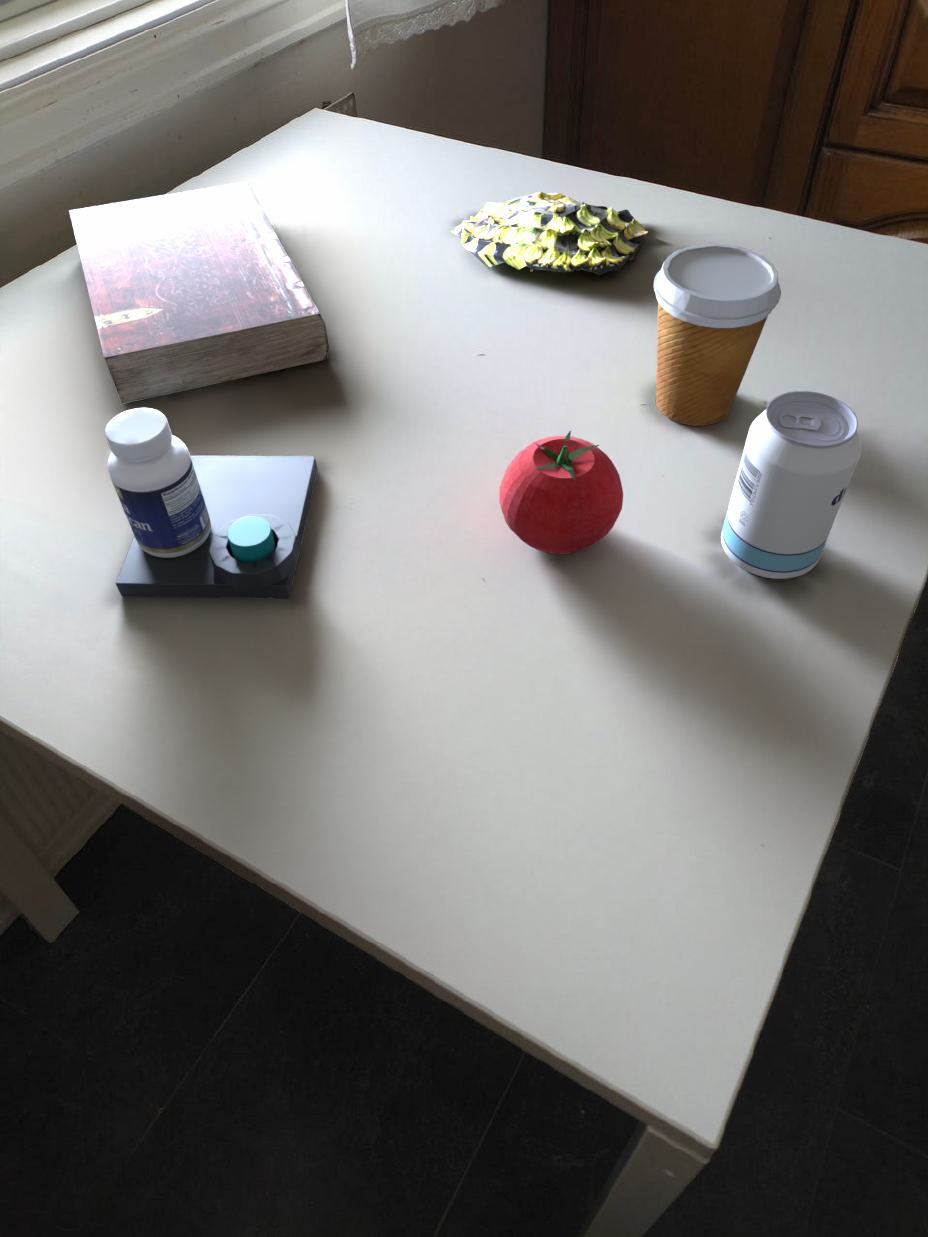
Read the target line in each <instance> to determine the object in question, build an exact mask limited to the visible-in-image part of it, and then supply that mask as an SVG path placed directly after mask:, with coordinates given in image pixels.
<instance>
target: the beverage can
mask: <svg viewBox="0 0 928 1237" xmlns="http://www.w3.org/2000/svg"><path fill="white" fill-rule="evenodd" d="M858 429H859V420H858V416H857V415H856V413H855V411H854V410H853V409H852V408H851V407H850V406H849V405H847V404H846V403H844V402H843V401H842V400H840V399H838V398H836V397H833V396H831V395H828V394H825V393H822V392H818V391H809V390H794V391H789V392H785V393H781V394H780V395H777V396H776V397H774V398H772V399H771V400H770V401H769V403H768V405H767V406H766V409H765V410H764V411H763V412H761V413H760V414H759V415H758V416H756V418H755V419H754V420H752V423H751V424H750V426H749V429H748V433H747V436H746V440H745V444H744V448H743V451H742V455H741V458H740V462H739V466H738V470H737V474H736V477H735V481H734V485H733V487H732V488H733V489H732V493H731V495H730V500H729V503H728V507H727V512H726V514H725V517H724V522H723V526H722V529H721V533H720V534H721V535H720V542H721V546H722V549H723V551H724V552H725V554H726V555H727V557H728V558H729V559H730V560H731V561H732V562H733V563H734V564H735V565H736V566H738V567H739V568H741V569H742V570H744V571H746V572H748V573H750V574H753V575H755V576H759V577H763V578H767V579H775V580H784V579H785V580H786V579H792V578H796V577H799V576H803V575H805V574H807V573H809V572H810V571H811V570H812V569H813V568H814V567H815V566H816V565H817V564H818V563H819V560H820V558H821V555H822V553H823V551H824V548H825V545H826V542H827V540H828V537H829V535H830V534H831V530H832V527H833V525H834V522H835V519H836V517H837V515H838V512H839V510H840V507H841V504H842V502H843V500H844V497H845V494H846V492H847V489H848V487H849V484H850V482H851V480H852V476H853V474H854V471H855V469H856V467H857V464H858V462H859V459H860V456H861V451H862V443H861V439H860V435H859V433H858Z"/></svg>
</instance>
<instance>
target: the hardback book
mask: <svg viewBox="0 0 928 1237" xmlns="http://www.w3.org/2000/svg"><path fill="white" fill-rule="evenodd" d="M68 212H69V217H70V220H71V224H72V225H71V226H72V228H73V233H74V237H75V241H76V246H77V250H78V254H79V258H80V262H81V266H82V271H83V275H84V279H85V283H86V287H87V291H88V296H89V299H90V305H91V308H92V313H93V317H94V322H95V325H96V329H97V332H98V333H97V334H98V339H99V342H100V346H101V351H102V355H103V359H104V360H105V364H106V366H107V369H108V372H109V374H110V377H111V379H112V382H113V385H114V388H115V390H116V393H117V395H118V398H119V400H120V404H121V405H124V404H129V403H132V402H133V403H134V402H138V401H144V400H146V399H152V398H156V397H160V396H161V397H162V396H166V395H171V394H175V393H179V392H184V391H188V390H192V389H197V388H202V387H207V386H212V385H215V384H222V383H224V382H225V383H226V382H229V381H234V380H235V381H236V380H239V379H243V378H249V377H252V376H257V375H262V374H267V373H271V372H275V371H280V370H284V369H289V368H293V367H298V366H303V365H308V364H312V363H317V362H321V361H326V360H328V358H329V349H330V346H329V340H328V335H327V328H326V324H325V321H324V319H323V317H322V315H321V313H320V310H319V309H318V307H317V305H316V303H315V302H314V300H313V298H312V296H311V295H310V293H309V291H308V289H307V287H306V285H305V284H304V282H303V280H302V278H301V276H300V274H299V272H298V271H297V270H296V267H295V266H294V264H293V262H292V259H291V258H290V257H289V254H288V253H287V250H286V249H285V247H284V246H283V244H282V242H281V240H280V239H279V237H278V235H277V233H276V232H275V230H274V228H273V225H272V224H271V222H270V220H269V218H268V217H267V214H266V213H265V211H264V209H263V207H262V206H261V204H260V202H259V201H258V199H257V197H256V195H255V193H254V191H253V189H252V188H251V186H250V184H249V183H248V181H247V180H245V181H239V182H234V183H227V184H222V185H215V186H209V187H204V188H197V189H191V190H184V191H177V192H173V193H166V194H161V195H155V196H149V197H148V196H147V197H141V198H136V199H130V200H124V201H117V202H111V203H106V204H99V205H93V206H87V207H82V208H81V207H80V208H76V209H75V208H74V209H70V210H68Z"/></svg>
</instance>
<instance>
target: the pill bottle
mask: <svg viewBox="0 0 928 1237" xmlns="http://www.w3.org/2000/svg"><path fill="white" fill-rule="evenodd" d="M104 435H105V438H106V441H107V443H108V447H109V449H110V451H111V453H110V455H109V457H108V461H107V471H108V474H109V475H108V476H109V477H110V480H111V483H112V485H113V488H114V490H115V492H116V495H117V497H118V500H119V502H120V504H121V507H122V511H123V513H124V515H125V517H126V519H127V521H128V524H129V527H130V529H131V531H132V534H133V537H134V536H135V539H136V540H137V543H138V544H139V546H140V547H141V548H142V549H143V550H144V551H145V552H147V553H148V554H150V555H153V556H156V557H161V558H173V557H179V556H182V555H186V554H188V553H190V552H192V551H194V550H195V549H197V548H198V547H199V546H201V545H202V544H203V543H204V542H205V540H206V539H207V538H208V536H209V534H210V530H211V521H210V517H209V513H208V510H207V507H206V504H205V501H204V498H203V494H202V491H201V488H200V485H199V482H198V479H197V476H196V473H195V469H194V466H193V463H192V459H191V457H190V455H191V454H190V452H189V449H188V447H187V446H186V444H185V443H184V441H183V440H181V439H180V438H179V437H177V436H175V435H173V433H172V430H171V427H170V424H169V421H168V419H167V417H166V415H165V414H164V413H163V412H162V411H160V410H158V409H154V408H151V407H136V408H131V409H128V410H124V411H123V412H120V413H118V414H117V415H115V416H114V417H113V418H112V419H110V420H109V422H108V423H107V424H106V426H105V429H104Z"/></svg>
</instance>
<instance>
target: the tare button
mask: <svg viewBox="0 0 928 1237" xmlns="http://www.w3.org/2000/svg"><path fill="white" fill-rule="evenodd" d="M227 537H228V540H229V544H230V547H231V550H232V553H233V555H234V556H235V558H237V559H238V560H240V561H243V562H256V561H258V560H261V559H264V558H266V557H268V556H269V555H270V554H271V553H272V552H273V550H274V548H275V541H274V537H273V533H272V529H271V526H270V524H269V523H268V522H267V521H266V520H265V519H263V518H260V517H246V518H242V519H240V520H238V521H236V522H235V523H233V524H232V525H231V526H230V528H229V530H228V533H227Z"/></svg>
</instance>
